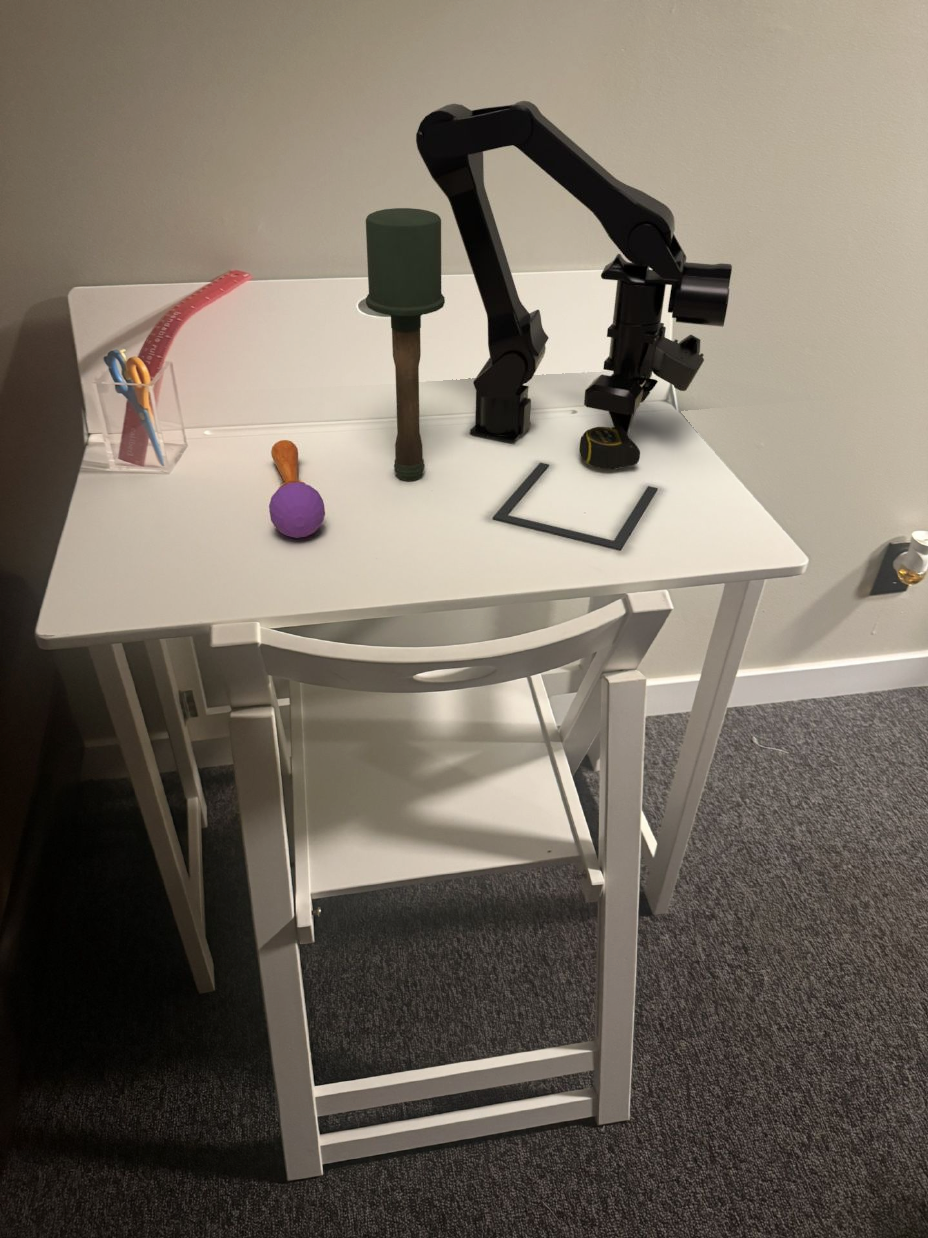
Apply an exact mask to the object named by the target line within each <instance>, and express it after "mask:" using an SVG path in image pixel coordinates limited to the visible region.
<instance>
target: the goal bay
mask: <svg viewBox="0 0 928 1238" xmlns="http://www.w3.org/2000/svg"><path fill="white" fill-rule="evenodd" d="M549 467H550V464H549V463H545V462H539V463H538V464H537V465H536V466H535V467H534V469H533V470H532V471H531V472H530V473H529V474H528V476H527V477H526V478H525V479H524V480H523V482H522V483H520V485H519V486H518V487H517V489H516V490H515V491H514V492H513V493H512V494H511V495H510V497H508V499H507V500H506V501H505V502H504V503H503V505H502V506H501V507H500V508H499V510H497V511H496V513H495V514H494V515H493V516H492V520H494V521H499V522H502V523H506V524H510V525H515V526H519V527H523V528H527V529H531V530H534V531H540V532H542V533H543V532H544V533H548V534H551V535H556V536H559V537H563V538H568V539H571V540H576V541H580V542H583V543H588V544H591V545H596V546H601V547H604V548H609V549H613V550H617V551H622V549H623V548H624V546H625V545H626V543H627V541H628V539H629V538H630V537H631V534H632V533H633V531H634V529H635V528H636V526H637V525H638V523H639V521H640V520H641V518H642V516H643V514H644V513H645V511H646V510H647V508H648V506H649V505H650V504H651V502H652V500H653V499H654V496H656V493H657V491H658V487H654V486H651V485H648V486H646V488H645V490H644V492H643V493H642V495H641V497H640V498H639V500H638V501H637V503H636V504H635V506H634V507H633V509H632V511H631V513H630V514H629V516H628V517H627V519H626V520H625V522H624V523H623V525H622V527H621V528H620V530H619V532H618V533H617V535H616V536H615V538H614V540H613V539H608V538H604V537H600V536H597V535H591V534H587V533H583V532H580V531H576V530H572V529H566V528H562V527H559V526H554V525H551V524H547V523H542V522H538V521H534V520H529V519H525V518H522V517H517V516H513V515H510V513H511V512H512V510H513V509H514V508H515V507H516V506H517V505H518V503H520V502H521V500H522V499H523V498H524V496H525V495H526V494H527V493H528V492H529V491H530V489H531V488H532V487H533V486H534V485H535V484H536V482H537V481H538V480H539V479H540V477H541V476H542V475H543V474H544V473H545V471H547V469H548V468H549Z"/></svg>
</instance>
